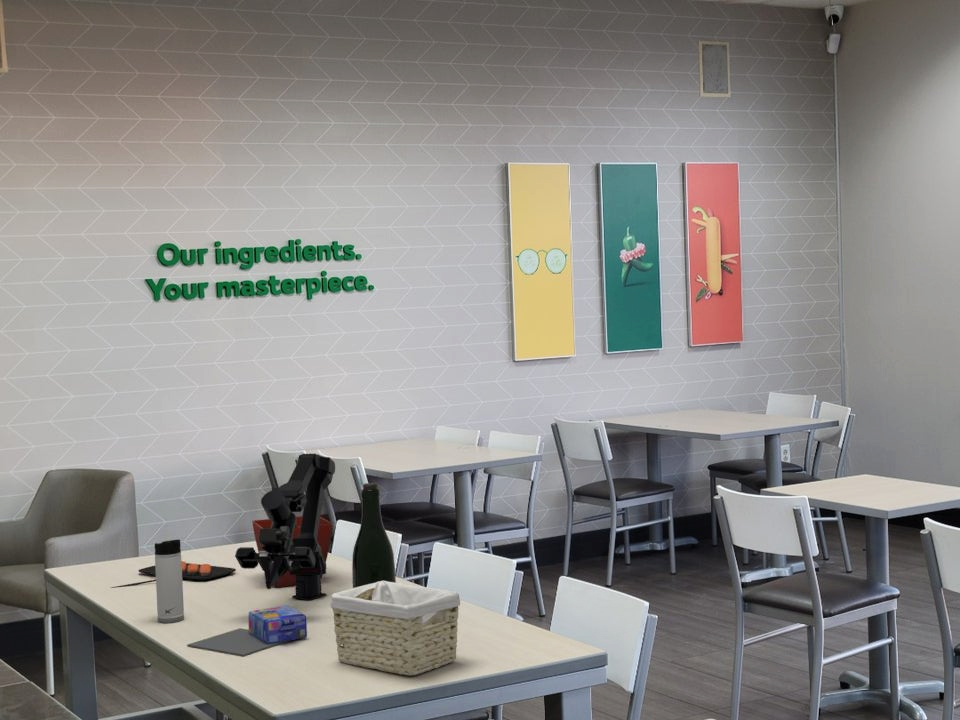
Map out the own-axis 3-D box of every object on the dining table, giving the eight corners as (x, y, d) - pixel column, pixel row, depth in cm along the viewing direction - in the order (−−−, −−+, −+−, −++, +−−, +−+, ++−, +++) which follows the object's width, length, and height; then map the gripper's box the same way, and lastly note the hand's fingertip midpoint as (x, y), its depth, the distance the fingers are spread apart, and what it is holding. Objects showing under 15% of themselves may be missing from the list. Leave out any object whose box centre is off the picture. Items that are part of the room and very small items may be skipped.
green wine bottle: (378, 613, 290) (373, 479, 289) (406, 620, 282) (401, 482, 281) (344, 622, 282) (339, 484, 281) (372, 629, 275) (366, 487, 274)
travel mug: (171, 624, 287) (167, 542, 286) (152, 621, 290) (148, 540, 290) (190, 618, 292) (186, 537, 292) (171, 616, 296) (167, 536, 295)
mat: (240, 629, 279) (239, 628, 279) (295, 639, 268) (295, 637, 268) (187, 646, 266) (187, 644, 266) (243, 656, 255) (243, 654, 255)
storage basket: (329, 662, 248) (326, 592, 248) (384, 645, 261) (381, 578, 260) (411, 681, 233) (408, 606, 232) (465, 661, 245) (463, 591, 245)
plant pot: (320, 571, 344) (317, 513, 344) (335, 584, 326) (333, 523, 326) (254, 578, 338) (251, 520, 337) (266, 591, 320) (263, 529, 319)
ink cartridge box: (288, 603, 278) (311, 617, 266) (288, 626, 278) (312, 641, 266) (247, 609, 273) (269, 623, 261) (248, 633, 273) (270, 648, 261)
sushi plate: (240, 575, 346) (240, 562, 346) (161, 596, 321) (161, 582, 321) (171, 567, 362) (171, 555, 362) (91, 587, 337) (90, 574, 337)
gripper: (235, 514, 288) (220, 570, 277) (309, 513, 284) (296, 569, 274) (249, 540, 296) (235, 594, 286) (321, 539, 293) (309, 594, 282)
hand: (268, 588), depth 282 cm, fingers closed
